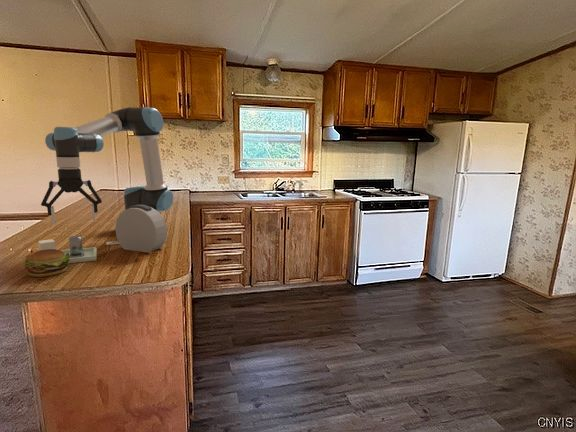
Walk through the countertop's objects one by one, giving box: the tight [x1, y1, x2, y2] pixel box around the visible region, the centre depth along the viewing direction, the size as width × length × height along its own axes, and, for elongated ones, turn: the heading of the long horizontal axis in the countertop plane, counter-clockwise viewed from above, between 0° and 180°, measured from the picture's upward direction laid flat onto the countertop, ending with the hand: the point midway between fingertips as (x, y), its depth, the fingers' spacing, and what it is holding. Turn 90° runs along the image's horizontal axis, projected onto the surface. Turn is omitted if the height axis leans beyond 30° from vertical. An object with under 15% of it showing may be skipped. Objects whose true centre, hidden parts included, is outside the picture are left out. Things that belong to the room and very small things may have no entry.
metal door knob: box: [68, 235, 84, 258], centre depth 139 cm, size 5×5×8 cm
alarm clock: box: [114, 205, 168, 253], centre depth 153 cm, size 21×8×20 cm, turn 74°
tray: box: [60, 246, 98, 264], centre depth 140 cm, size 14×14×2 cm
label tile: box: [106, 240, 120, 246], centre depth 162 cm, size 6×4×1 cm, turn 118°
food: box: [22, 248, 70, 278], centre depth 123 cm, size 14×14×8 cm
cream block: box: [37, 238, 57, 251], centre depth 145 cm, size 5×5×5 cm
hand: (74, 222), depth 138 cm, fingers open, 13 cm apart
